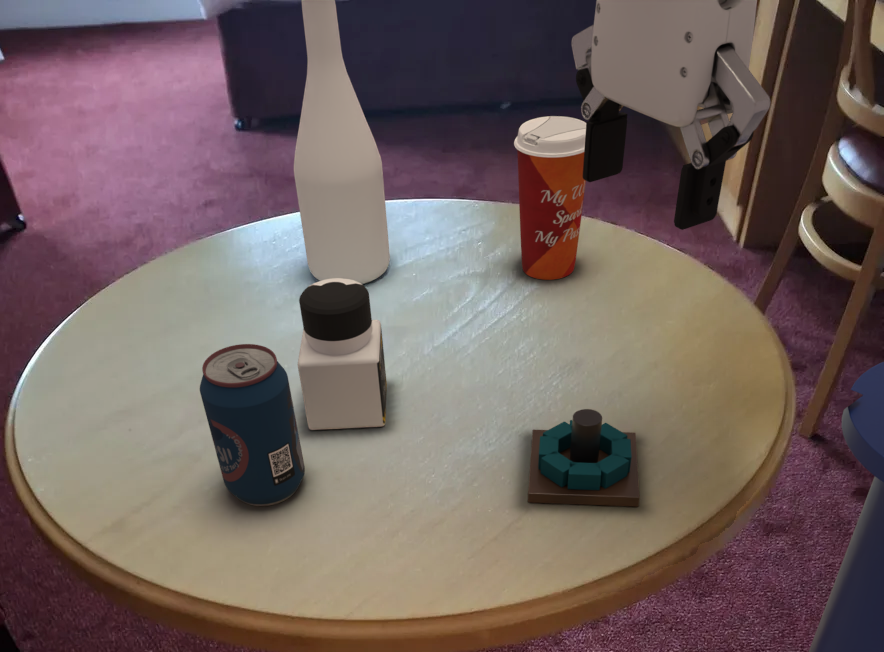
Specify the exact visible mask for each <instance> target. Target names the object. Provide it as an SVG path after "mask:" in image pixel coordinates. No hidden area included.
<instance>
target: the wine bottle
mask: <svg viewBox="0 0 884 652" xmlns="http://www.w3.org/2000/svg"><path fill="white" fill-rule="evenodd" d="M301 10H302V11H301V12H302V20H303V29H304V36H305V47H306V55H307V56H306V57H307V65H306V66H307V67H306V78H305V86H304V93H303V99H302V105H301V112H300V117H299V125H298V131H297V136H296V143H295V148H294V149H295V150H294V159H293V177H294V182H295V189H296V190H295V191H296V196H297V202H298V209H299V216H300V223H301V228H302V235H303V242H304V248H305V253H306V262H307V266H308V269H309V272H310V273H311V274H312V276H313V277H314V278H315V279H316V280H318V282H319V281H322V280H326V279H332V278H343V279H350V280H354V281H357V282H359V283H361V284H362V285H364V284H367V283H370V282H373V281H374V280H377V279H378V278H380V277H381V276H382V275H384V273H385V272H386V271H387V269H388V268H389V264H390V260H391V254H390V253H391V252H390V243H389V230H388V217H387V207H386V194H385V183H384V173H383V170H384V169H383V162H382V157H381V154H380V151H379V148H378V145H377V143H376V140H375V137H374V135H373V133H372V130H371V128H370V126H369V124H368V121H367V119H366V117H365V114H364V111H363V109H362V106H361V103H360V100H359V99H358V97H357V93H356V91H355V89H354V86H353V84H352V82H351V78H350V76H349V74H348V72H347V69H346V68H347V67H346V65H345V61H344V58H343V52H342V44H341V38H340V37H341V36H340V29H339V22H338V13H337V4H336V0H301Z"/></svg>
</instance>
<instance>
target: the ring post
mask: <svg viewBox="0 0 884 652" xmlns="http://www.w3.org/2000/svg"><path fill="white" fill-rule="evenodd" d="M571 420H572V433H571V447H569V448H568V449H566V450H564V451H562V452H560V454H561V455H563V456H565V457H566V458H568V459H569V460H571V461H572V462H577V463H598V462H599V461H601V460H603V459H604V458H606V457H608V456H610V455H608V454H607V453H605V452H603V451H602V450H600V449H599V447H600V437H601V428H602V424H603V415H602V414H601V413H600V412H599V411H597V410H596V409H590V408H583V409H579V410H577V411H575V412H574V413H573V415H572V419H571ZM547 430H548V429H532V432H531V433H532V434H531V446H530V447H531V449H530V460H529V461H530V462H529V474H528V475H529V476H528V491H527V503H532V504H555V505H556V504H560V505H584V506H585V505H586V506H608V507H609V506H610V507H611V506H612V507H614V506H615V507H618V506H619V507H634V508H635V507H639V503H640V498H641V497H640V481H639V468H638V467H639V466H638V452H637V451H638V450H637V435H636V434H637V433H636V432H630V431H627V432H625V431H622V432H623V433H624V434H626V435H627V436H628V437H627V439H631V456H632V458H631V466H630V472H628V473H627V476H626V477H625V478H623V479H621V480H619V481H618V482H616V483H614V484H613V485H611V486H609V487H608V488H606V489H605V488H603V487H602V486H600V490H576V489H568V484H567V485H565V486H564V487H560V486H559V485H558V484H556V483H555V482H553V481H552V480H550V479H549V478H547V477H546V476H544V475H543V474H541V469H538V461H539V443H540V436H543V433H544V432H545V431H547Z"/></svg>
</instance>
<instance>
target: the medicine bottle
mask: <svg viewBox="0 0 884 652" xmlns="http://www.w3.org/2000/svg"><path fill="white" fill-rule="evenodd" d="M298 302H299V309H300V315H301V321H302V326H303V329H302V335H301V341H300V347H299V353H298V358H297V369H298V376H299V381H300V387H301V388H300V389H301V393H302V399H303V404H304V411H305V416H306V422H307V427H308V429H309V430H311V431H317V430H339V429H359V428H360V429H361V428H380V427H384V426H385V425H386V417H387V416H386V415H387V414H386V413H387V389H388V388H387V387H388V383H387V371H386V362H385V352H384V351H385V350H384V341H383V340H384V339H383V330H382V323H381V321H380V320H379V319H372V310H371V301H370V292H369V289H367V287H366V286H365V285H364V284H361V283H359V282H357V281H354V280H350V279H343V278H332V279H326V280H322V281H319V280H318V281H317V282H313V283H311V284H309V285H308V286H307V287H306V288H305V289H304V290H303V291H302V293H300V295H299V298H298Z"/></svg>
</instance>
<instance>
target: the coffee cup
mask: <svg viewBox="0 0 884 652" xmlns="http://www.w3.org/2000/svg"><path fill="white" fill-rule="evenodd" d="M585 136H586V122H585V121H583V120H581V119H578V118H575V117H570V116H560V115H558V116H557V115H550V116H540V117H536V118H532V119H529V120H527V121H525V122H523V123H522V124H521V125H520V127H519V128H518V131H517V136H516V137H515V139H514V141H513V146H514V147H515V149H516V150H517V154H516V155H517V177H518V206H519V207H518V208H519V229H520V230H519V233H520V235H519V236H520V251H521V252H520V254H521V268H522V271H523V273H524V274H525V275H527V276H528V277H531V278H533V279H537V280H545V281H552V280H553V281H554V280H558V279H563V278H566V277H568V276H569V275H571V274H572V273H573V272H574V270H575V266H576V261H577V253H578V248H579V247H578V246H579V240H580V230H581V225H582V224H581V222H582V216H583V215H582V214H583V209H584V199H585V191H586V183H587V181H586V180H584V179H583V163H584V149H585Z"/></svg>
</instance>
